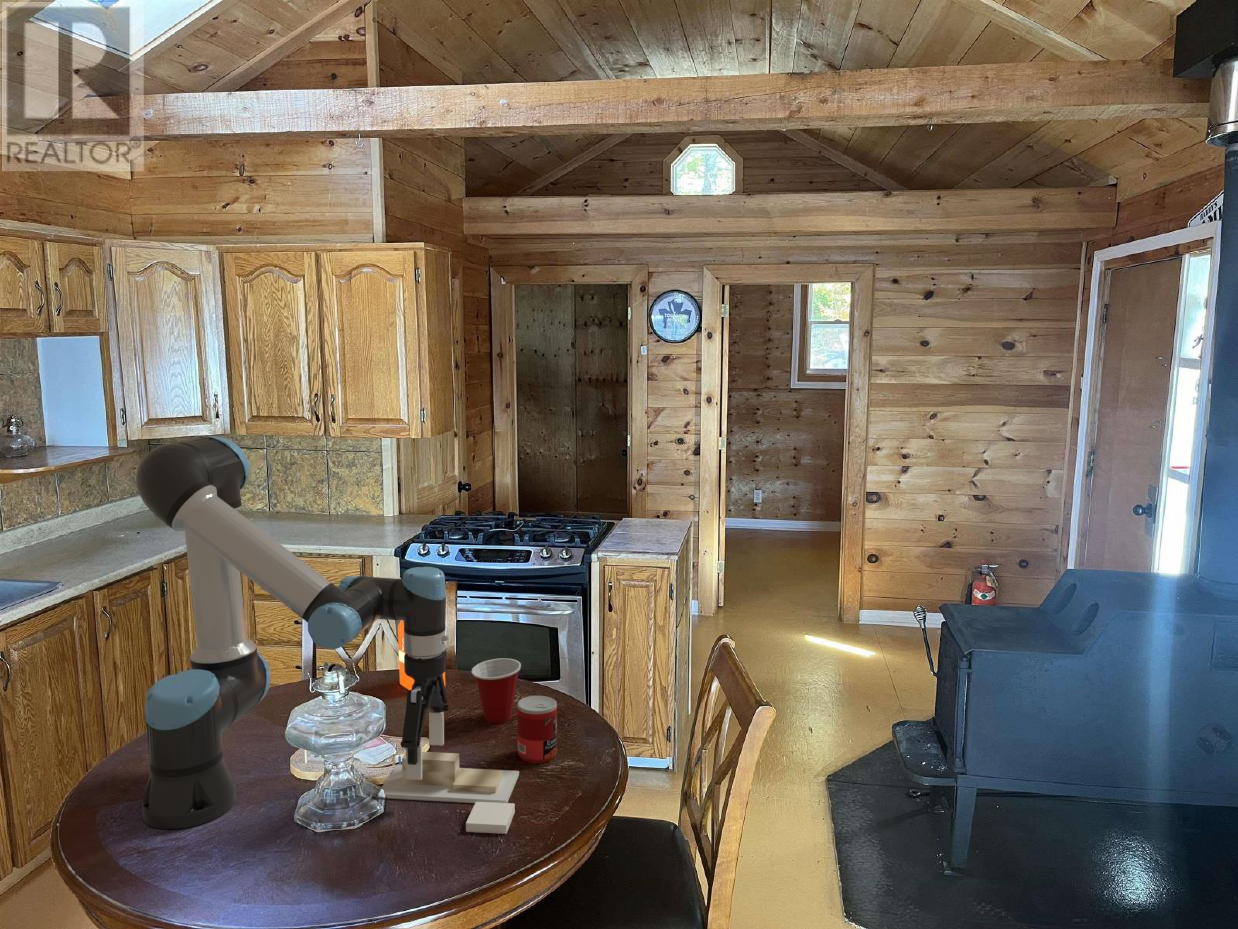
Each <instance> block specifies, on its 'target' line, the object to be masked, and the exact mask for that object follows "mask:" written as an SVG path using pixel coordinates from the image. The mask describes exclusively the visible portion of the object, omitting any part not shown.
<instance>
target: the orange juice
mask: <svg viewBox="0 0 1238 929" xmlns="http://www.w3.org/2000/svg"><path fill="white" fill-rule="evenodd" d="M399 621H400V622H399V623H398V625H397V634H398V635H397V637H398V665H399V667H398V670H399V672H398V673H399V684H400V685H401V686H402V687H404V688H405V689H407V691H408V690H411V689H412V685H413V684H414V679H413V678H411V677H409V676H407V675H406V674H405V672H404V655H405V654H406V653H405V652H404V622H403V620H399ZM443 679H444V684H445V685H446V671H445V672H444V673H443Z"/></svg>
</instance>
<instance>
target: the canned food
mask: <svg viewBox="0 0 1238 929" xmlns="http://www.w3.org/2000/svg"><path fill="white" fill-rule="evenodd" d="M516 722H517V724H516V725H517V753H518V756H519V758H520V759H521V760H522V761H524V762H527V763H530V764H542V763H543V764H544V763H548V762H550V761H552V760H553V759H555V758H556V756H557V752H558V704H557V701H556V700H555V699H554V698H552V697H549V696H545V695H530V696H525V697H523V698H520V699H519V700H518V702H517V707H516Z"/></svg>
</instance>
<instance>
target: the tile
mask: <svg viewBox="0 0 1238 929" xmlns="http://www.w3.org/2000/svg"><path fill="white" fill-rule="evenodd" d="M515 808H516V804H515V803H513V802H512V803H510V802H508V803H493V802H476V803H474V805H473V807H472V809H471V811H470V814H469V815H468V818H467V820H466V822H465V832H466V833H483V834H485V833H486V834H487V833H489V834H503V835H507V833H508V831H509V828H510V825H511V824H512V820H513V818H514V815H515V812H516V809H515Z"/></svg>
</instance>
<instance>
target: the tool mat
mask: <svg viewBox="0 0 1238 929" xmlns="http://www.w3.org/2000/svg"><path fill="white" fill-rule="evenodd" d="M461 769H472V768H471V767H469V768H468V767H467V768H466V767H459V772H460V771H461ZM476 769H477V770H492V769H489V768H476ZM495 770H496V771H503V778H502V780H501V782H500V785H499V787H498V789H497V791H496V793H487V792H469V791H453V786H437V785H420V784H403V777H402V764H396V766H395V767H394V769H393V770H392V772H391V773H390V775H389V776H388V778H387V779H386V780H385V782H384V783H383V785H382V786H381V788H380V789H383V790H384V794H385V796H386V797H387V798H386V799H394V800H395V799H396V800H410V801H411V800H413V801H414V800H415V801H429V802H431V801H432V802H446V803H447V802H451V803H463V804H464V803H465V804H466V803H469V804H475V803H476V802H493V803H509V800H510V797H511V796H512V794H513V790H514V788H515V786H516V783H517V781H518V778H519V776H520V771H519V770H508V769H495Z"/></svg>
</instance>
